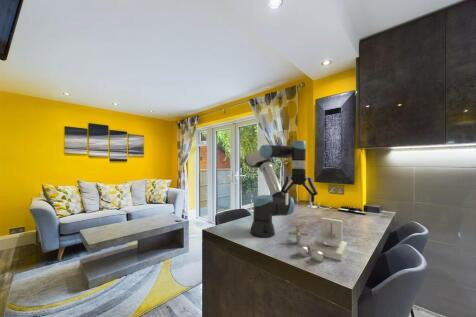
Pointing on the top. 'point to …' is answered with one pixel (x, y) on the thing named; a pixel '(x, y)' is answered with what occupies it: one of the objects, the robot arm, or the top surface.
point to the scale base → (331, 229)
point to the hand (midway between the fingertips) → (298, 206)
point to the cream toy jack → (298, 233)
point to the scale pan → (328, 240)
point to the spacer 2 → (317, 256)
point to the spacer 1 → (302, 251)
